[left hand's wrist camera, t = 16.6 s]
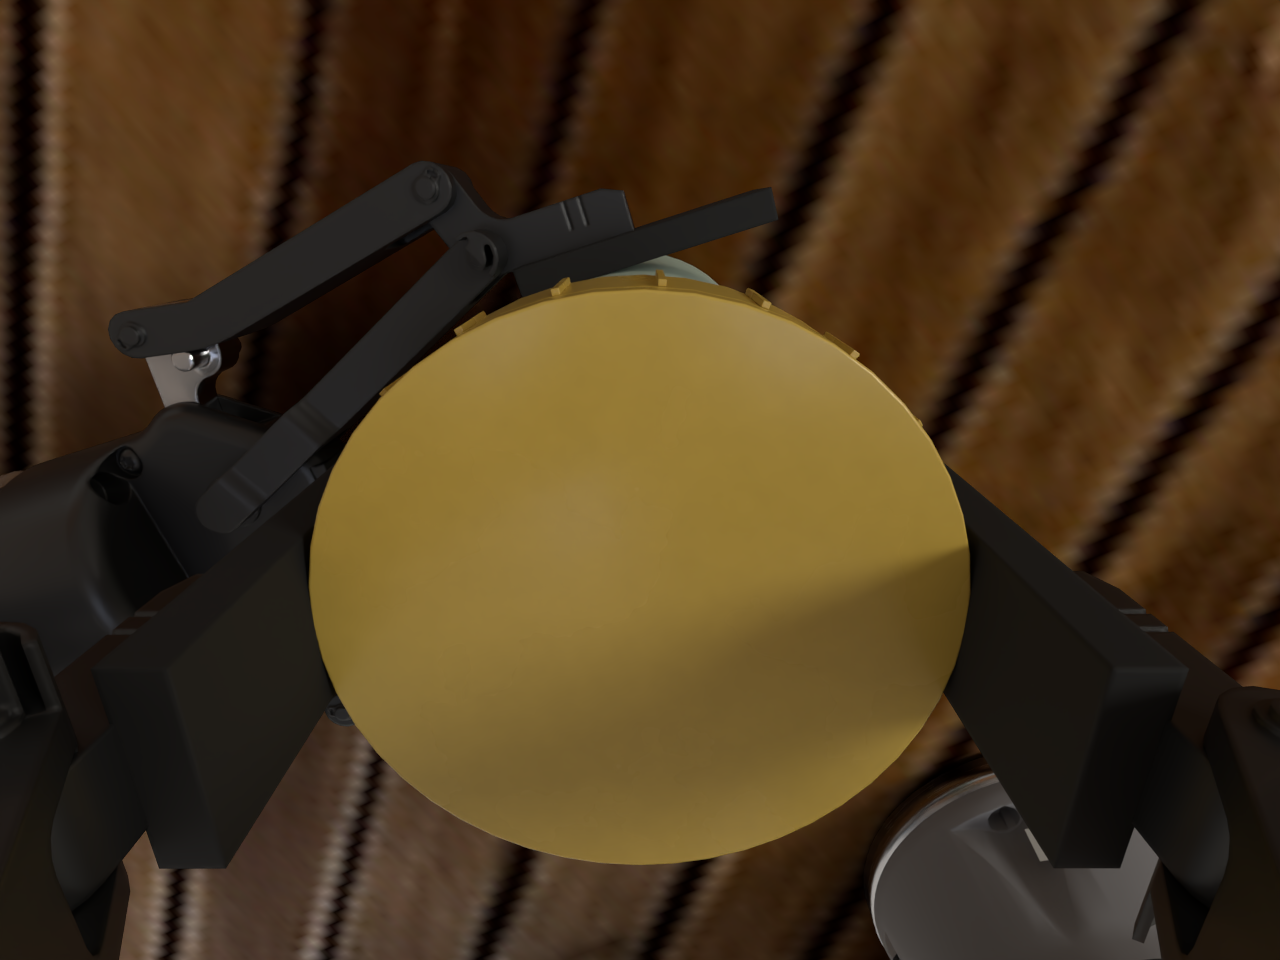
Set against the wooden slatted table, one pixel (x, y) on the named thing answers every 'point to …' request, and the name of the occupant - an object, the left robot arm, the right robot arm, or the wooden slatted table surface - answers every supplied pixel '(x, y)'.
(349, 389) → the right robot arm
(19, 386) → the wooden slatted table surface
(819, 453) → the lid
